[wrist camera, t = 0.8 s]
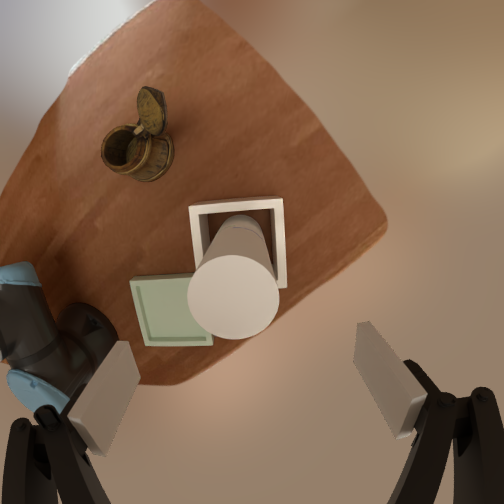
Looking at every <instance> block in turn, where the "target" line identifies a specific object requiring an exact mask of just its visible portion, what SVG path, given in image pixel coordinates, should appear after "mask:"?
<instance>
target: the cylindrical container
mask: <svg viewBox="0 0 504 504" xmlns="http://www.w3.org/2000/svg"><path fill="white" fill-rule="evenodd" d="M187 300H188V306H189V309H190V312H191V314H192V316H193V317H194V319H195V320H196V322H197V323H198V324H199V325H200V326H201V327H202V328H204V329H205V330H206V331H207V332H209V333H211V334H213V335H215V336H218V337H221V338H226V339H243V338H248V337H251V336H253V335H256V334H257V333H259V332H261V331H262V330H264V329H265V328H266V327H267V326H268V325H269V324H270V323H271V321H272V320H273V319H274V317H275V315H276V313H277V310H278V306H279V291H278V286H277V283H276V279H275V275H274V272H273V268H272V265H271V261H270V258H269V254H268V250H267V247H266V243H265V240H264V236H263V233H262V229H261V227H260V225H259V224H258V222H257V221H256V220H255V219H253V218H251V217H250V216H247V215H234V216H232V217H230V218H228V219H227V220H225V222H224V223H223V224H222V226H221V227H220V229H219V231H218V232H217V234H216V236H215V238H214V239H213V241H212V243H211V245H210V246H209V248H208V250H207V252H206V253H205V255H204V257H203V259H202V260H201V262H200V264H199V266H198V268H197V269H196V271H195V273H194V275H193V277H192V278H191V280H190V283H189V286H188V292H187Z"/></svg>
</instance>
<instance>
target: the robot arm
mask: <svg viewBox="0 0 504 504" xmlns="http://www.w3.org/2000/svg"><path fill="white" fill-rule="evenodd" d="M5 358H6V360H7V361H8V363H9V365H10V367H11V370H9V371H8V374H7V383H8V386H9V388H10V389H11V391H12V392H13V394H14V395H15V396H16V397H17V399H18V400H19V401H20V402H21V403H22V404H23V405H24V406H26V407H27V408H28V409H30V410H31V411H33V412H34V418H35V420H36V421H37V423H38V424H39V425H32V424H31V422H30V421H29V419H27V418H19V419H17V420H15V421H14V422H13V423H12V425H11V429H10V434H9V440H8V445H7V451H6V458H5V466H4V474H3V486H2V504H58V496H57V490H58V493H59V495H60V498H61V501H62V504H111V503H110V501H109V499H108V497H107V495H106V493H105V491H104V490H103V488H102V486H101V484H100V481H99V479H98V478H97V475H96V473H95V471H94V469H93V467H92V465H91V462H90V460H89V457H88V455H87V454H86V453H85V451H86V449H87V447H88V448H89V449H90V451H91V452H92V453H93V454H95V455H99V456H103V457H106V456H107V453H108V451H109V448H110V446H111V444H112V441H113V439H114V437H115V434H116V432H117V429H118V427H119V425H120V422H121V420H122V418H123V416H124V413H125V411H126V409H127V407H128V404H129V402H130V400H131V398H132V395H133V393H134V391H135V389H136V387H137V385H138V383H139V380H140V378H141V377H140V374H139V371H138V368H137V366H136V363H135V360H134V357H133V354H132V351H131V348H130V345H129V341H119V339H118V336H117V333H116V331H115V329H114V327H113V326H112V324H111V323H110V321H109V320H108V319H107V318H106V317H105V316H104V315H103V314H102V313H101V312H100V311H99V310H97V309H96V308H94V307H92V306H90V305H87V304H84V303H74V304H71V305H69V306H68V307H66V308H65V309H64V310H63V311H62V312H61V313H60V314H59V316H58V319H57V322H56V323H55V321H54V319H53V316H52V314H51V311H50V309H49V306H48V304H47V301H46V298H45V296H44V293H43V290H42V284H41V283H40V282H39V280H38V277H37V274H36V272H35V269H34V267H33V265H32V264H31V263H29V262H27V261H23V262H18V263H14V264H10V265H6V266H3V267H0V361H2V360H3V359H5ZM353 362H354V364H355V366H356V368H357V369H358V371H359V373H360V375H361V376H362V378H363V380H364V382H365V383H366V385H367V387H368V389H369V391H370V392H371V394H372V396H373V398H374V400H375V401H376V403H377V405H378V407H379V409H380V411H381V413H382V414H383V416H384V418H385V420H386V422H387V424H388V426H389V427H390V429H391V431H392V433H393V435H394V437H395V439H396V440H398V439H401V438H403V437H406V436H409V435H411V433H412V430H413V428H415V429H416V431H417V435H416V437H415V439H414V441H413V443H412V445H411V446H412V448H411V451H410V453H409V456H408V459H407V461H406V464H405V466H404V468H403V471H402V473H401V476H400V478H399V480H398V482H397V484H396V487H395V489H394V491H393V493H392V495H391V497H390V499H389V501H388V503H387V504H433V503H434V501H435V498H436V495H437V492H438V489H439V486H440V483H441V479H442V476H443V473H444V470H445V466H446V462H447V458H448V454H449V450H450V446H451V441H452V439H453V451H454V500H453V504H504V428H503V424H502V420H501V416H500V413H499V409H498V406H497V402H496V399H495V395H494V394H493V392H492V391H491V390H490V389H488V388H486V387H478V388H476V389H474V390H473V392H472V393H471V396H469V397H463V398H456V397H455V396H454V395H452V394H450V393H447V392H441V391H440V390H439V389H438V387H437V386H436V385H435V384H434V383H433V381H432V380H431V379H430V378H429V377H428V376H427V374H426V373H425V372H424V371H423V370H422V368H421V367H420V366H419V365H418V364H417V363H415V362H413V361H412V360H410V359H409V360H405V361H401V359H400V358H399V357H398V355H397V354H396V353H395V352H394V350H393V349H392V348H391V347H390V345H389V344H388V343H387V342H386V341H385V339H384V338H383V337H382V336H381V335H380V333H379V332H378V331H377V330H376V329H375V327H374V326H373V325H372V324H371V322H369V321H368V322H362V323H357V333H356V343H355V352H354V360H353Z"/></svg>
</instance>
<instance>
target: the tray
mask: <svg viewBox="0 0 504 504" xmlns="http://www.w3.org/2000/svg"><path fill="white" fill-rule="evenodd" d="M193 275H194V273H180V274H164V275H148V276H134V277H133V278H132V279H131V280H130V286H131V291H132V295H133V300H134V304H135V308H136V312H137V316H138V320H139V324H140V328H141V332H142V335H143V339H144V343H145V346H208V345H213V343H214V335H213V334H211V333H209V332H207V331H206V330H205V329H204V328H202V327H201V326H200V325H199V324H198V323H197V322H196V320H195V319H194V317H193V316H192V314H191V312H190V309H189V306H188V300H187V292H188V286H189V283H190V280H191V278H192V277H193Z"/></svg>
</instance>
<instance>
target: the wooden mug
mask: <svg viewBox="0 0 504 504" xmlns="http://www.w3.org/2000/svg"><path fill="white" fill-rule="evenodd" d="M137 109H138V113H139V117H140V118H139V121H138V123H137V124H126V125H122V126H119V127H116V128H114V129H113V130H112V131H110V132H109V133H108V134H107V135H106V137H105V138H104V140H103V143H102V147H101V157H102V160H103V162H104V163H105V165H106V166H108V167H109V168H110V169H111V170H113V171H114V172H116V173H118V174H121V175H129V176H131V177H132V178H134V179H136V180H139V181H143V182H152V181H154V180H156V179H158V178H160V177H161V176H162V175H164V174H165V172H166V171H167V170H168V169H169V167H170V165H171V164H172V161H173V157H174V147H173V143H172V140H171V137H170V136H169V135H168V134H167V133H166V132H165V131H166V128H167V124H168V123H167V105H166V101H165V96H164V93H163V92H161V91H159V90H157V89H154V88H151V87H147V86H144V87H142V88H141V90H140V91H139V93H138V97H137Z"/></svg>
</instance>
